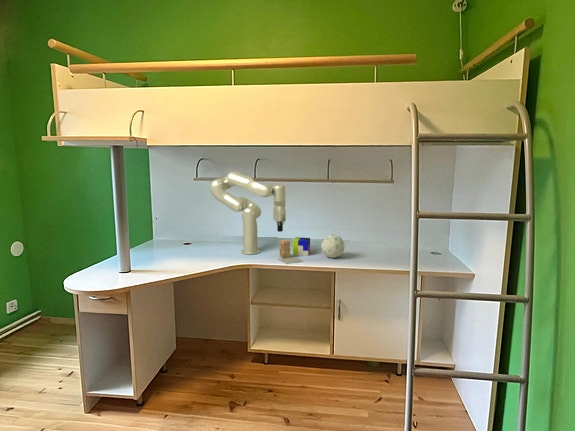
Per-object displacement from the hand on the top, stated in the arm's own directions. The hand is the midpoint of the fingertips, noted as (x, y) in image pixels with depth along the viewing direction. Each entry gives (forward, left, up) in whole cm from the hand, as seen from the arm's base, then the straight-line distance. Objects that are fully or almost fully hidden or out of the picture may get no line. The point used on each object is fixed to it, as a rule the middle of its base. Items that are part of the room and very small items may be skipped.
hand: (280, 231), depth 262 cm
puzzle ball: (+22, +28, -16) cm, 39 cm away
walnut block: (+8, 0, -16) cm, 18 cm away
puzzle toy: (+4, +15, -16) cm, 22 cm away
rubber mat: (+16, 0, -16) cm, 23 cm away
